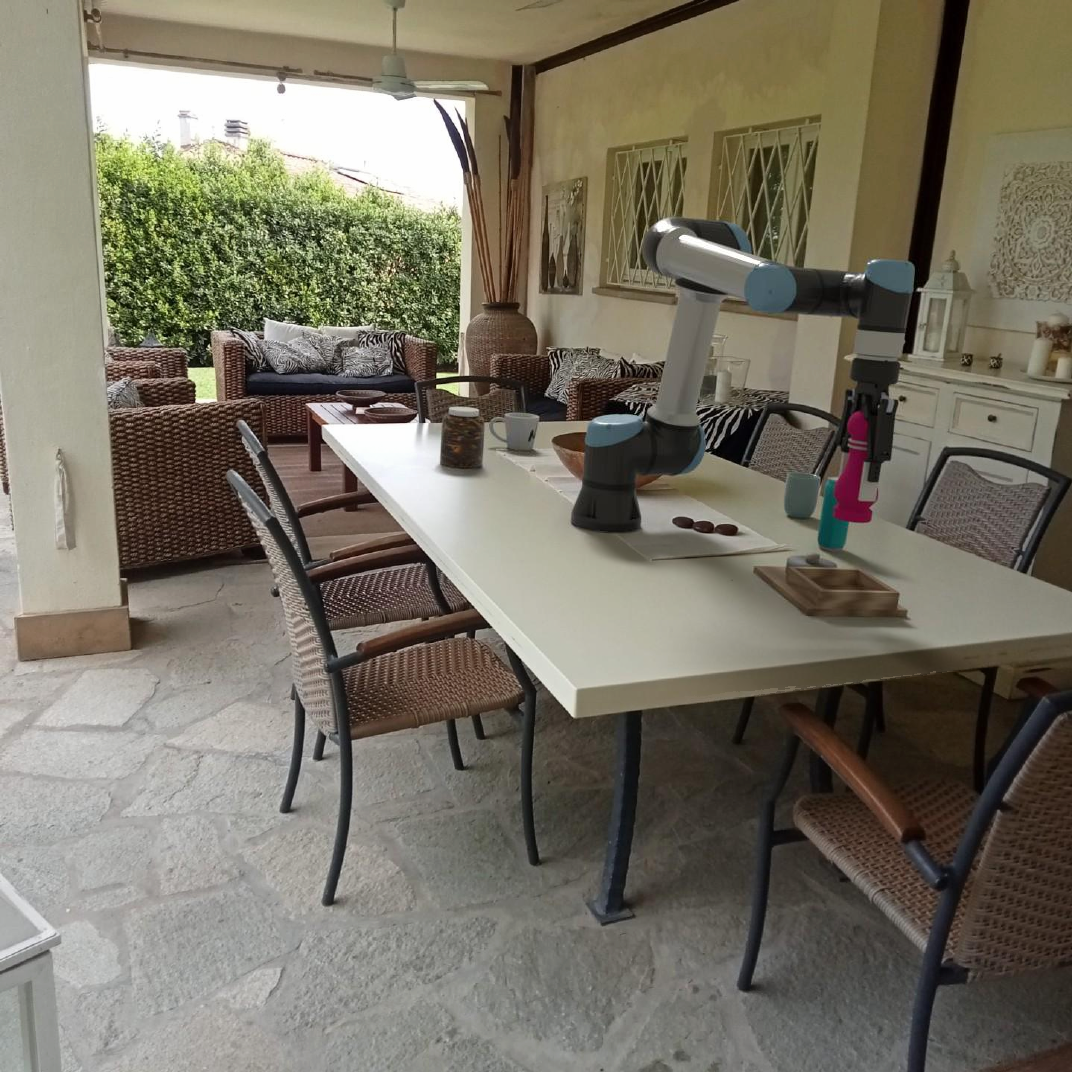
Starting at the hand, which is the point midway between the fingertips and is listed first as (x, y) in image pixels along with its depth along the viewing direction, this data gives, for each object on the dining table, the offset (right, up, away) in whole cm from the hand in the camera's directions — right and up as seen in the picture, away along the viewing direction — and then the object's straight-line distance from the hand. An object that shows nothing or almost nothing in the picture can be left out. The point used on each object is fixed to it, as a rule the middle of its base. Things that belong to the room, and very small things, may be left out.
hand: (855, 495), depth 168 cm
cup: (+8, -3, +68) cm, 69 cm away
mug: (-61, +19, +132) cm, 147 cm away
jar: (-74, +12, +101) cm, 126 cm away
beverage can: (+8, -10, +41) cm, 43 cm away
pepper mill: (0, -4, +1) cm, 4 cm away
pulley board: (-2, -17, +10) cm, 20 cm away
